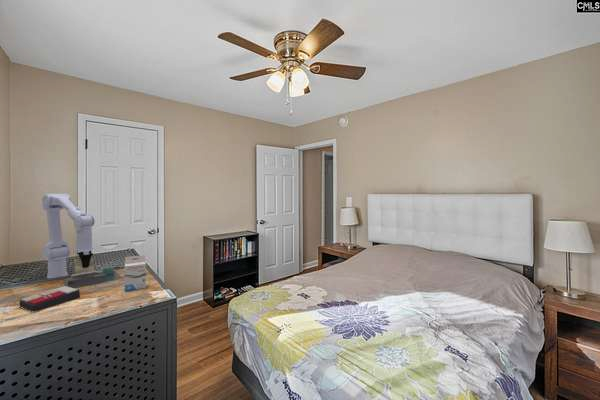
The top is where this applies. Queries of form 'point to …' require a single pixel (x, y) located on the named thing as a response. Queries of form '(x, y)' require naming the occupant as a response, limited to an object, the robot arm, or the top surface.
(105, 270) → the sliding jaw
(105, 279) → the vise base
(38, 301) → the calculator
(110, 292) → the top surface
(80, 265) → the birch block
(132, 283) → the ink box
